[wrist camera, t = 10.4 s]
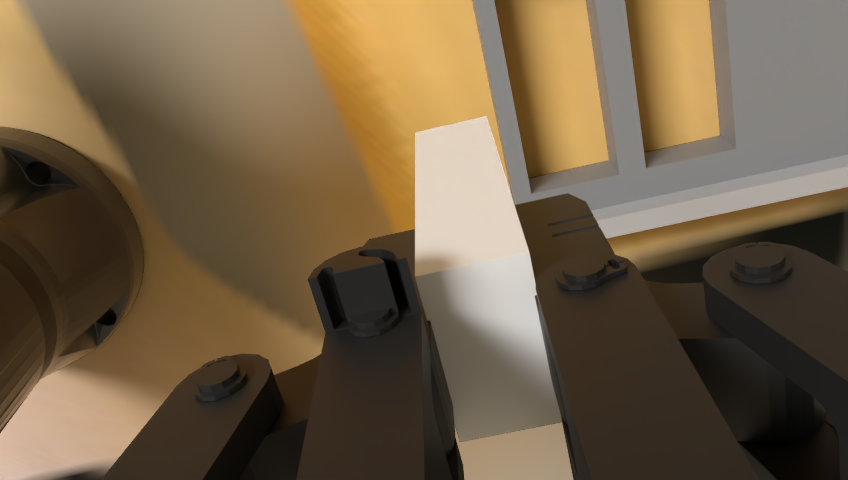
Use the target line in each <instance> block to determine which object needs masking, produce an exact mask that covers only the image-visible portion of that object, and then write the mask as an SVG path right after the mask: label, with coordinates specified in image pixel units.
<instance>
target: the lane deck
mask: <svg viewBox="0 0 848 480" xmlns="http://www.w3.org/2000/svg"><path fill="white" fill-rule="evenodd" d="M472 2H473V7H474V12H475V16H476V21H477V26H478V31H479V36H480V41H481V46H482V51H483V56H484V61H485V66H486V71H487V76H488V81H489V85H490V90H491V95H492V100H493V105H494V110H495V115H496V120H497V125H498V130H499V135H500V140H501V145H502V149H503V154H504V159H505V164H506V169H507V174H508V179H509V184H510V189H511V194H512V199H513V202H514V205H517V204H521V203H526V202H530V201H535V200H539V199H544V198H548V197H553V196H557V195H562V194H566V193H569V194H571V195H573V196H575V197H577V198H579V199H581V200H584V201H586V203H587V204H588V206H589V208H590V210H591V212H592V213H593V217H595V219H596V221H597V223H598V224H599V227H600V228H601V230H602V232H603V234H604V235H605V237H606V239H607V238H612V237H616V236H621V235H626V234H630V233H635V232H640V231H644V230H649V229H654V228H658V227H663V226H668V225H672V224H677V223H682V222H686V221H691V220H696V219H700V218H705V217H710V216H714V215H719V214H724V213H728V212H733V211H738V210H742V209H747V208H752V207H756V206H761V205H766V204H770V203H775V202H780V201H784V200H789V199H794V198H798V197H803V196H808V195H812V194H817V193H822V192H826V191H831V190H836V189H840V188H845V187H848V0H709V5H710V17H711V29H712V41H713V53H714V65H715V77H716V89H717V101H718V113H719V126H720V136H717V137H712V138H708V139H703V140H699V141H694V142H690V143H685V144H681V145H676V146H672V147H667V148H663V149H658V150H654V151H649V152H645V153H644V148H643V140H642V132H641V124H640V116H639V108H638V100H637V92H636V84H635V76H634V68H633V60H632V52H631V44H630V36H629V29H628V21H627V13H626V5H625V0H586V3H587V10H588V17H589V24H590V31H591V38H592V45H593V51H594V58H595V65H596V72H597V79H598V86H599V93H600V100H601V107H602V113H603V120H604V127H605V134H606V141H607V148H608V155H609V161H604V162H600V163H595V164H591V165H586V166H582V167H577V168H573V169H568V170H564V171H560V172H555V173H551V174H546V175H542V176H537V177H533V178H528V174H527V169H526V163H525V158H524V153H523V148H522V143H521V137H520V132H519V127H518V122H517V117H516V111H515V106H514V101H513V96H512V90H511V85H510V80H509V75H508V70H507V64H506V59H505V54H504V49H503V44H502V38H501V33H500V28H499V23H498V17H497V12H496V7H495V2H494V0H472Z"/></svg>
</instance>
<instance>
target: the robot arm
mask: <svg viewBox="0 0 848 480" xmlns="http://www.w3.org/2000/svg"><path fill="white" fill-rule="evenodd" d="M143 267H144V257H143V247H142V242H141V237H140V233H139V230H138V227H137V224H136V222H135V219H134V217H133V215H132V213H131V211H130V209H129V207H128V205H127V203H126V202H125V200H124V199H123V197H122V196H121V194H120V193H119V192H118V190H117V189H116V188H115V186H114V185H113V184H112V183H111V182H110V181H109V179H108V178H107V177H106V176H105V175H104V174H103V173H102V172H101V171H100V170H98V169H97V168H96V167H95V166H94V165H93V164H92V163H90V162H89V161H88V160H87V159H85V158H84V157H82V156H81V155H79V154H78V153H76V152H75V151H73V150H72V149H70V148H68V147H66V146H64V145H63V144H61V143H59V142H56V141H54V140H52V139H50V138H47V137H45V136H42V135H39V134H36V133H33V132H29V131H25V130H21V129H15V128H9V127H0V433H1V431H2V430H3V429H4V427H5V426H6V425H7V423H8V422H9V421H10V419H11V418H12V416H13V415H14V414H15V412H16V411H17V410H18V408H19V407H20V406H21V404H22V403H23V402H24V400H25V399H26V397H27V396H28V395H29V393H30V392H31V391H32V389H33V388H34V386H35V385H36V384H37V383H38V381H39V380H40V379H41V378H43V377H45V376H47V375H49V374H51V373H53V372H55V371H57V370H59V369H60V368H62V367H64V366H66V365H68V364H70V363H72V362H74V361H76V360H78V359H80V358H81V357H83V356H85V355H87V354H89V353H90V352H92V351H93V350H95V349H96V348H97V347H99V346H100V345H101V344H102V343H103V342H104V341H106V340H107V339H108V338H109V337H110V336H111V335H112V334H113V332H114V331H115V330H116V329H117V327H118V326H119V325H120V323H121V322H122V320H123V319H124V317H125V316H126V314H127V313H128V312H129V310H130V308H131V307H132V305H133V303H134V301H135V300H136V297H137V295H138V292H139V289H140V286H141V282H142V277H143ZM308 281H309V284H310V287H311V290H312V293H313V296H314V299H315V302H316V305H317V308H318V311H319V314H320V317H321V320H322V323H323V326H324V329H325V332H326V333H325V338H324V343H323V348H322V353H321V354H320V355H318V356H317V357H315V358H314V359H312V360H310V361H308V362H305V363H303V364H301V365H299V366H297V367H294V368H292V369H289V370H287V371H284V372H281V373H279V374H276V375H273V372H272V369H271V367H270V364H269V361H268V360H267V359H265V358H263V357H261V356H259V355H254V354H239V355H234V356H225V357H221V358H218V359H217V360H216V361H215V360H213V361H210V362H208V363H206V364H204V365H203V366H202V367H201V368H200V369H198V370H196V371H195V372H193V373H191V374H190V375H188V376H187V377H186V378H185V379H184V380H183V381H182V382H181V383H180V384H179V385H178V386H177V387H176V388H175V389H174V390H173V392H172V393H171V394H170V395H169V397H168V398H167V399H166V400H165V402H164V403H163V404H162V405H161V406H160V408H159V409H158V410H157V411H156V413H155V414H154V415H153V416H152V418H151V419H150V420H149V421H148V423H147V424H146V425H145V426H144V427H143V429H142V430H141V431H140V432H139V434H138V435H137V436H136V437H135V439H134V440H133V441H132V442H131V444H130V445H129V446H128V447H127V448H126V450H125V451H124V452H123V453H122V455H121V456H120V457H119V458H118V460H117V461H116V462H115V463H114V465H113V466H112V467H111V468H110V469H109V471H108V472H107V473H106V474H105V476H104V477H103V478H102V479H101V480H464V471H463V464H462V460H461V456H460V453H459V449H458V445H457V442H456V438H455V427H456V431H457V434H458V438H459V442H463V441H468V440H473V439H478V438H483V437H489V436H494V435H499V434H504V433H509V432H514V431H519V430H525V429H530V428H535V427H540V426H545V425H550V424H555V423H560V422H562V423H563V428H564V434H565V438H566V443H567V448H568V453H569V458H570V464H571V469H572V473H573V478H574V480H848V272H847V271H844V270H843V269H841V268H839V267H837V266H835V265H833V264H831V263H829V262H828V261H826V260H824V259H822V258H820V257H818V256H816V255H814V254H812V253H811V252H809V251H806V250H803V249H800V248H797V247H794V246H791V245H783V244H775V243H772V242H759V243H758V244H756V242H753V243H746V244H743V245H741V246H737V247H733V248H729V249H726V250H724V251H722V252H720V253H718V254H716V255H714V256H712V257H711V258H710V259H709V260H708V261H707V262H706V263H705V264H704V265H703V283H684V284H669V283H657V282H651V281H646V280H643V278H642V276H641V274H640V273H639V271H638V269H637V267H636V266H635V265H634V264H633V263H631V262H630V261H629V260H628V259H626V258H623V257H620V256H617V255H615V254H614V252H613V250H612V248H611V246H610V245H609V243H608V241H607V239H606V237H605V235H604V234H603V232H602V230H601V228H600V227H599V224H598V223H597V221H596V219H595V217H593V213H592V212H591V210H590V208H589V206H588V204H587V203H586V201H584V200H581V199H579V198H577V197H575V196H573V195H571V194H569V193H566V194H562V195H557V196H553V197H548V198H544V199H539V200H535V201H530V202H526V203H521V204H517V205H514V202H513V199H512V195H511V192H510V189H509V186H508V183H507V180H506V176H505V173H504V170H503V167H502V164H501V160H500V157H499V154H498V151H497V148H496V145H495V141H494V138H493V135H492V132H491V129H490V125H489V122H488V119H487V116H484V117H480V118H476V119H472V120H467V121H463V122H459V123H454V124H450V125H446V126H441V127H437V128H433V129H428V130H424V131H420V132H415V229H414V230H409V231H405V232H400V233H395V234H391V235H386V236H382V237H378V238H373V239H369V240H368V241H367V242H366V244H365V245H364V246H363V247H359V248H356V249H353V250H349V251H346V252H343V253H340V254H338V255H336V256H334V257H332V258H330V259H328V260H326V261H325V262H323V263H322V264H321V265H319V266H318V267H317V268H315V269H314V270H313V272H312V273H311V275H310V277H309V278H308ZM454 423H455V426H454Z"/></svg>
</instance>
